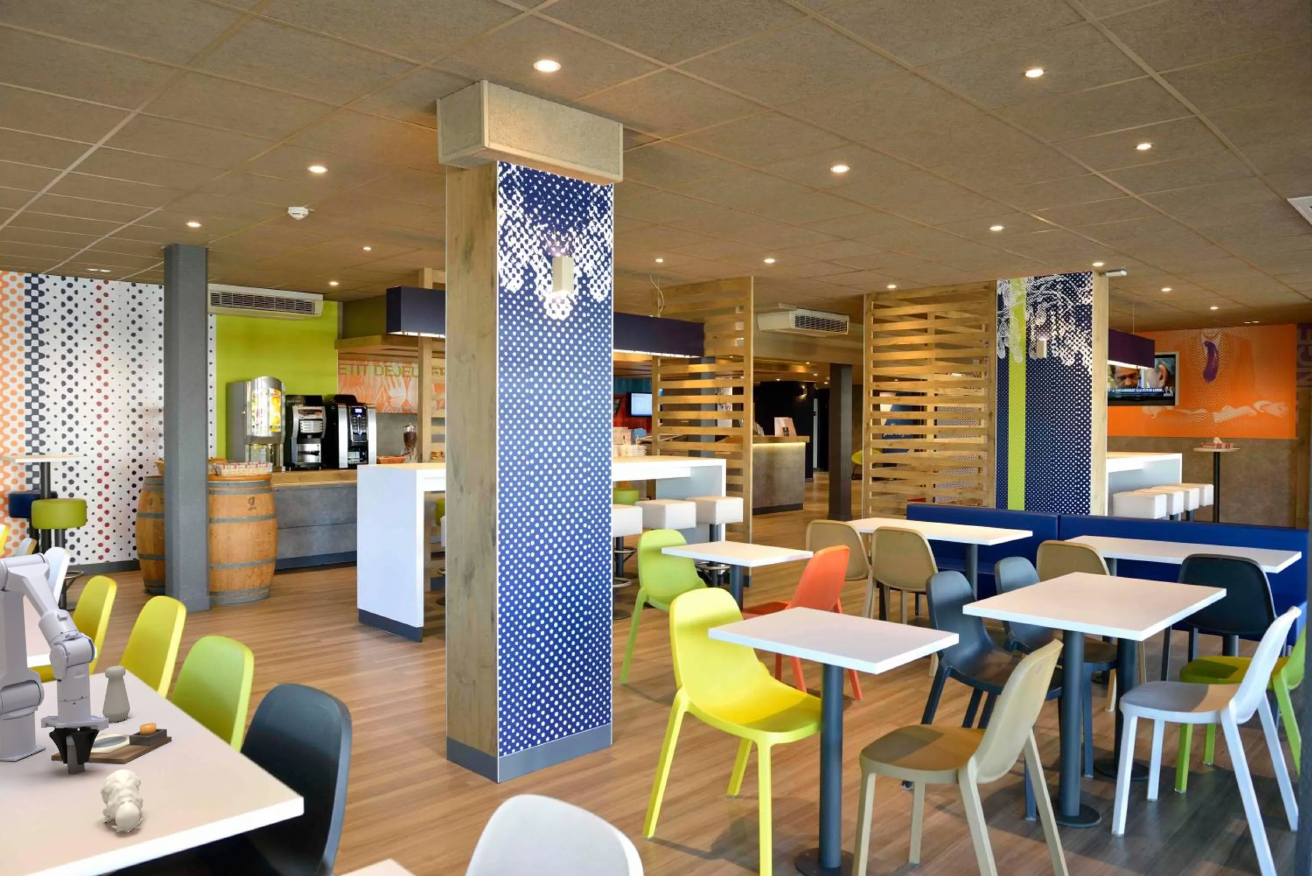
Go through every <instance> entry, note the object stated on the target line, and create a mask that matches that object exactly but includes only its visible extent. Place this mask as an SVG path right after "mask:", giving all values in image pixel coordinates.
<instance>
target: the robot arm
mask: <svg viewBox="0 0 1312 876" xmlns="http://www.w3.org/2000/svg"><path fill="white" fill-rule="evenodd" d="M50 572H51V566H50V563H49V560H48V557H46V556H45V555H44V554H43V553H41V552H37V553H34V554H27V555H26V554H25V555H19V556H18V555H17V556H11V557H3V558H0V761H5V762H17V761H20V760H21V759H24V758H27V757H29V756H31V754H32V755H34V754H36V753H38V752H40V751H43V750H46V748H47V746H44V745H37V743H36V742H37V739H36V713H35V712H37V711H38V710H39V707H40V706H41V705H42V704H43V701H44V699H45V688H44V685H43V684H42V683H43V682H42V679H41V674H40V673H39V672H37V671H36V670H33V669H31V668H29V667H28V655H27V639H26V623H25V608H24V605H25V603H24V597H26V598H27V600H28V602H30V604H31V606H32V607H33V608H34V609H35V611H36V612H37V614H38V615H39V617H40V619H39V621H38V628H39V630H40V631H41V634H42V635H43V638H44V639H45V640H46V642H47V645H48V647H49V648H50V653H49V655H48V657H49V662H50V663H49V664H50V665H51V667H52V673H53V674H52V675H53V677H54V678H55V679H56V697H57V699H56V700H57V715H47V716H45V717H42V718H40V728H41V729H45V728H46V729H47V728H54V729H53V731H50V732H48V736H49V738H50V740H52V742H53V743H54V744H55V746H56V748H57V750H58V752H59V753H60V755H61V758H62V761H61V762H62V763H63V765H68V764H67V743H66V737H67V736H68V735H71V737H72V738H73V741H74V743H75V747H76V754H77V762H78V765H82V764H84V763H85V764H86V763H90V762H89V758H90V753H91V750H92V746H93V744H94V741H95V739H96V737H97V736H98V735H99V733H100V731H104V730H106V729H108V728H110V725H109V724H110V722H109V718H105V717H101V716H97V715H95V714H94V715H93V714H92V711H91V708H92V707H91V684H90V680H91V679H90V678H91V677H90V664H91V663H93V661H94V660H95V657H96V656H95V655H96V648H95V643H94V642H93V639H92V638H91V637H90V636H88V635H86V634H85V633H84V632H80V631H79V629H78V627H77V626H76V624H75V622H74V620H73V618H72V616H71V615H70V613H69V611H67V610H66V609H60V607H59V605H58V602H57V600H56V597H55V595H54V592H53V591H52V588H51V585H50V583H49V579H50V575H51V573H50Z"/></svg>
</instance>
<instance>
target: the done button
mask: <svg viewBox="0 0 1312 876" xmlns="http://www.w3.org/2000/svg"><path fill="white" fill-rule="evenodd" d="M156 729H157V723H156V722H149V723H144V724H141V725H140V726H139V731H140V736H150V735H153V734H155V733H156Z"/></svg>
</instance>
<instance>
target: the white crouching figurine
mask: <svg viewBox="0 0 1312 876" xmlns="http://www.w3.org/2000/svg"><path fill="white" fill-rule="evenodd" d="M140 785H141V779H140V778H139V777H138V776H137V774H136V773H135V772H134V771H133V770H129V769H119V770H116V771H114V772H113V773H111V774H109V775H107V777H105V780H104V782H103V785H102V786H101V788H100V794H101V798H102V802H103V803H104V804H105V805H106V807H105V808H103V810H102V816H103V817H104V818H103V823H104V824H106V823H105V822H109V821H110V822H112V821H113V820H114V819H115V824H116V825H111V827H112V828H114V829H116V831H115V832H116V833H118V832H124V833H125V832H126V833H127V832H128V831H131V832H132V830H134V829H136V828H138V827H139V826H140V825H139V824H140V823H141V822H142V821H143V818H141V815H142V810H141V809H142V808H143V806H144V805H143V803H144V799H143V798H142V795H141V794H140V792H139V791H140ZM140 818H141V819H140ZM111 820H112V821H111ZM110 822H109V823H110Z"/></svg>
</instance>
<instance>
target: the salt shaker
mask: <svg viewBox="0 0 1312 876" xmlns="http://www.w3.org/2000/svg"><path fill="white" fill-rule="evenodd" d="M125 675H126V668H125V666H123V665H112V666H110V667H107V668H106V669H105V670H104V676H105V678H106V679H108V681H107V687H106V690H105V696H104V702H103V707H102V712H101V713H102V715H103V716H104V717H103V718H109V723H112V722H113V723H118V722H117V721H119V722H123V721H125V720H127V719H126V718H128V716H129V714H130V710H131V705H130V702H129V697H128V692H127V689H126V684H125V680H124V676H125ZM124 719H125V720H124ZM122 720H123V721H122ZM113 723H112V724H113Z"/></svg>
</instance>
